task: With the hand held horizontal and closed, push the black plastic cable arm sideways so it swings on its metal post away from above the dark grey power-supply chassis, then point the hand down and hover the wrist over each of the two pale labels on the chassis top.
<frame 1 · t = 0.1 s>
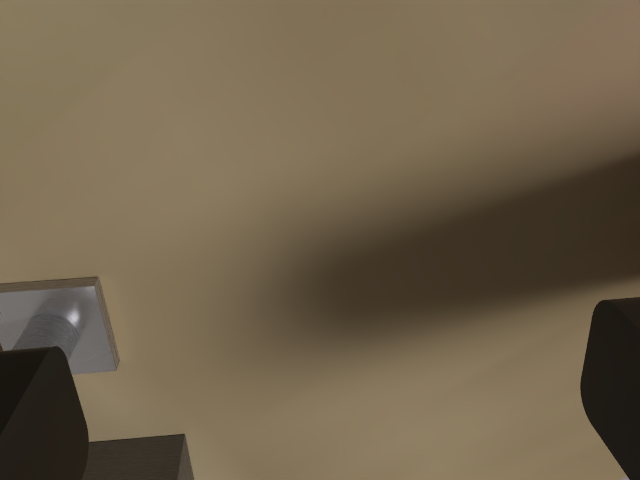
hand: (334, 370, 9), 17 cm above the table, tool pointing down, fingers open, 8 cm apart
hinge post: (57, 324, 29), on the table
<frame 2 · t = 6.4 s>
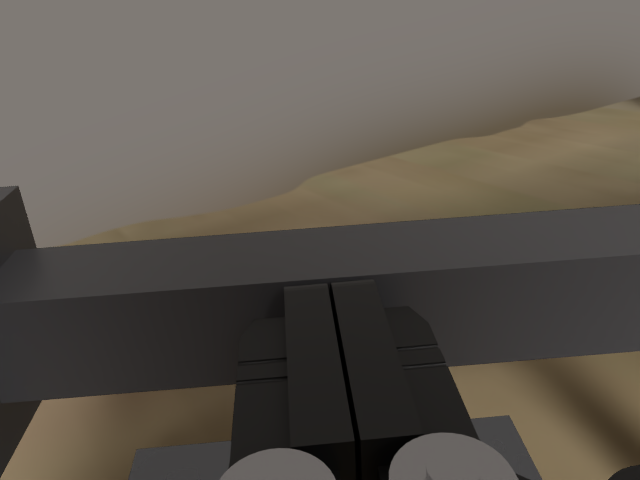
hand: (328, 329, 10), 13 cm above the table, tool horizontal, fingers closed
cable arm: (558, 280, 11), point 13 cm above the table, hinge at 0.5°, touching gripper
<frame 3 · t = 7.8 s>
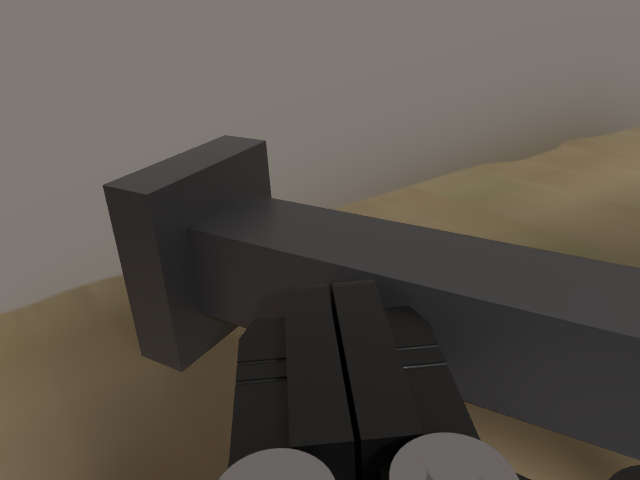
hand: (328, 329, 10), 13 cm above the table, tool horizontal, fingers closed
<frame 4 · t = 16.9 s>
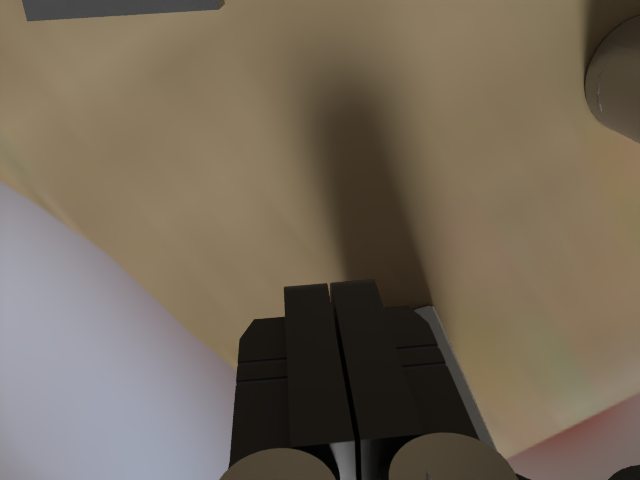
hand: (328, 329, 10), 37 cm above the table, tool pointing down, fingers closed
hard drive box: (410, 374, 58), on the table
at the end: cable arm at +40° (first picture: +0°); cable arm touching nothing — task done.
